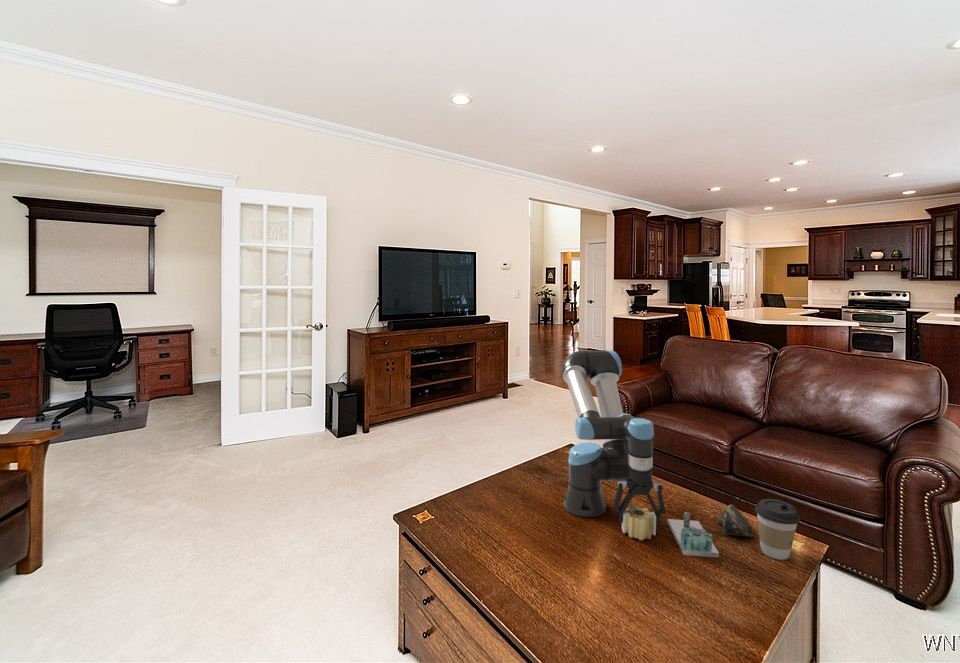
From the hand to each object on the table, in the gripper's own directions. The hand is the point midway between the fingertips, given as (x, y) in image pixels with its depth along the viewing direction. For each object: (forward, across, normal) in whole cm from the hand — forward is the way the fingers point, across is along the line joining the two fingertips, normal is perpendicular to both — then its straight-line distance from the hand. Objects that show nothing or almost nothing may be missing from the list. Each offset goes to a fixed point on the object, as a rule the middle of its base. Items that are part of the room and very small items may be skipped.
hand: (638, 531), depth 144 cm
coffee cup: (+1, +39, -6) cm, 39 cm away
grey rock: (+1, +32, +5) cm, 33 cm away
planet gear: (0, 0, 0) cm, 0 cm away
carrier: (+1, +16, -1) cm, 16 cm away
